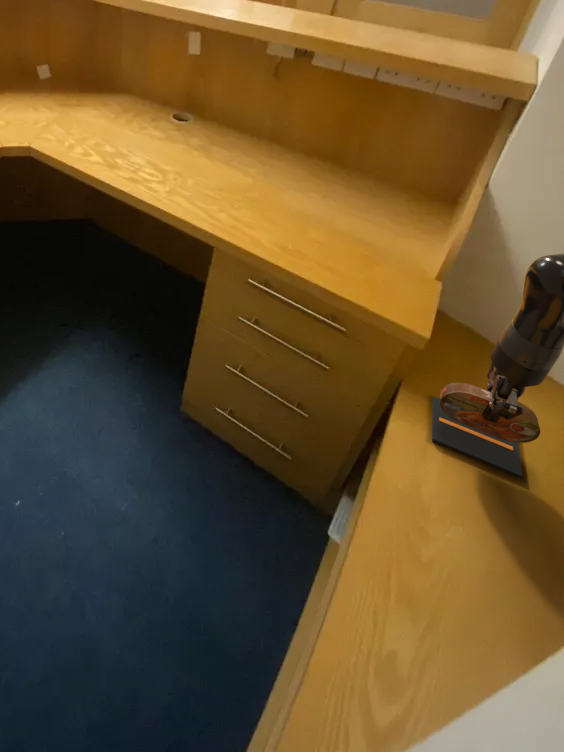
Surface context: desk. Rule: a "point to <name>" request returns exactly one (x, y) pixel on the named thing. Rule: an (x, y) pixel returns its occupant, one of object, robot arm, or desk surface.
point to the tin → (470, 404)
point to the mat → (474, 442)
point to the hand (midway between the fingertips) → (488, 411)
